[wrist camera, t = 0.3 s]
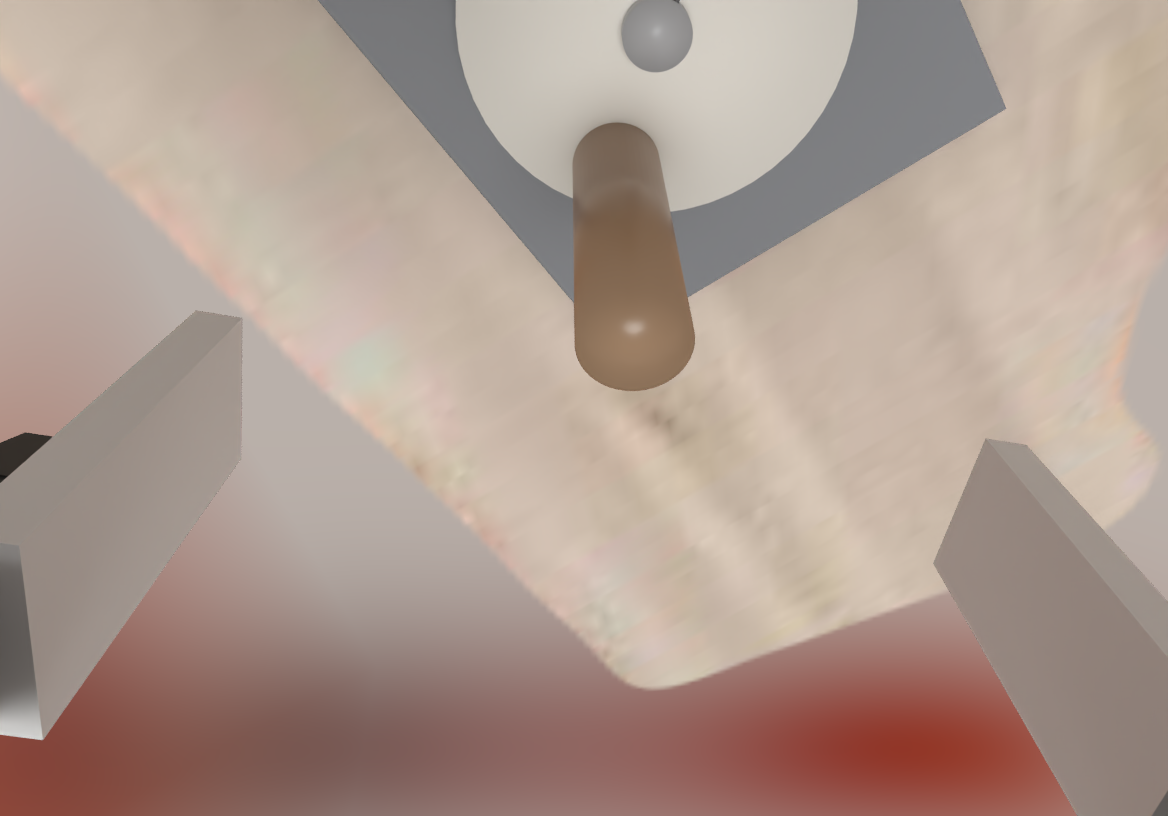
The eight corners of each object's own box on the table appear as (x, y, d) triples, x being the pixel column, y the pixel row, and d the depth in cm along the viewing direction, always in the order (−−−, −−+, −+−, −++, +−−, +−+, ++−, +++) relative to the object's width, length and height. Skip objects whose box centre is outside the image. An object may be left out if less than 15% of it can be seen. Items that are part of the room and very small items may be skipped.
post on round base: (759, -358, 28) (885, -391, 17) (941, 47, 36) (1111, 208, 25) (375, -28, 34) (281, 111, 23) (604, 261, 41) (618, 470, 30)
